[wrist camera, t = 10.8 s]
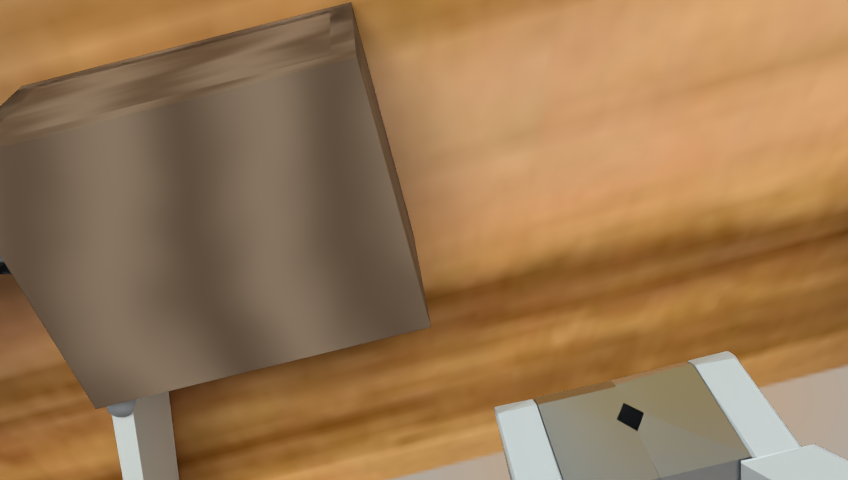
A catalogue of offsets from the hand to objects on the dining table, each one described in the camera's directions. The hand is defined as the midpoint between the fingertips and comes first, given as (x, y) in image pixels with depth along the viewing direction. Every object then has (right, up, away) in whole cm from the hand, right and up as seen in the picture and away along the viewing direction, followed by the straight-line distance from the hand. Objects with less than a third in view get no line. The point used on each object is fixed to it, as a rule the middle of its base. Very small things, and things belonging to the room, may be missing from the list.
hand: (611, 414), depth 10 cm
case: (-12, +6, +29) cm, 32 cm away
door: (-19, -8, +36) cm, 42 cm away
